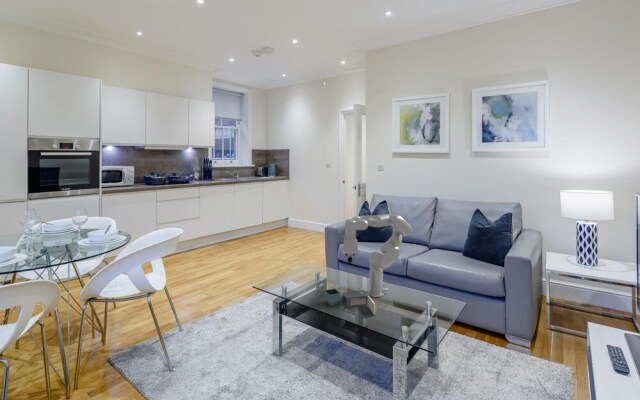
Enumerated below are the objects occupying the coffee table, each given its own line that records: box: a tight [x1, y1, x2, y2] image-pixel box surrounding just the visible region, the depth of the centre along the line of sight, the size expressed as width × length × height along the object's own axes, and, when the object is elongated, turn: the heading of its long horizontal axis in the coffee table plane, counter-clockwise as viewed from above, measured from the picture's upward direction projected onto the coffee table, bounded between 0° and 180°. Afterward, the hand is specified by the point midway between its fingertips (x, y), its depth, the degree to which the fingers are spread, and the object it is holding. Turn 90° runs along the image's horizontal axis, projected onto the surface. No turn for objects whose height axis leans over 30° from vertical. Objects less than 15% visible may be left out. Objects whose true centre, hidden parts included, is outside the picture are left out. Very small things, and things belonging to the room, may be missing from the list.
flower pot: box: [323, 288, 341, 307], centre depth 239 cm, size 9×9×9 cm
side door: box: [366, 296, 378, 315], centre depth 231 cm, size 14×2×7 cm, turn 11°
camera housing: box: [341, 289, 370, 308], centre depth 240 cm, size 17×9×8 cm, turn 104°
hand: (349, 262), depth 244 cm, fingers closed
